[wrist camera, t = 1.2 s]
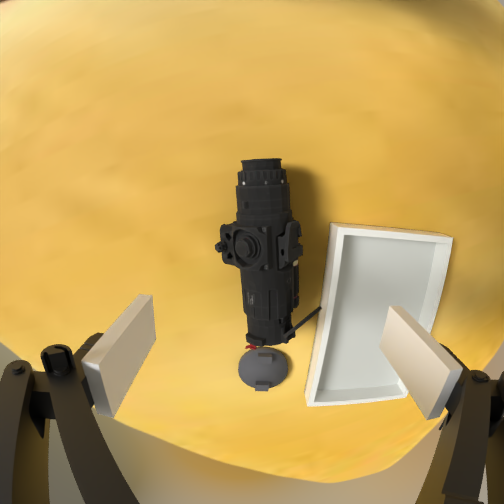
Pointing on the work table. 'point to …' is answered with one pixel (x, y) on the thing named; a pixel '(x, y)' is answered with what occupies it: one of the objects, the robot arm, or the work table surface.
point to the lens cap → (263, 368)
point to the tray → (371, 308)
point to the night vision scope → (265, 252)
